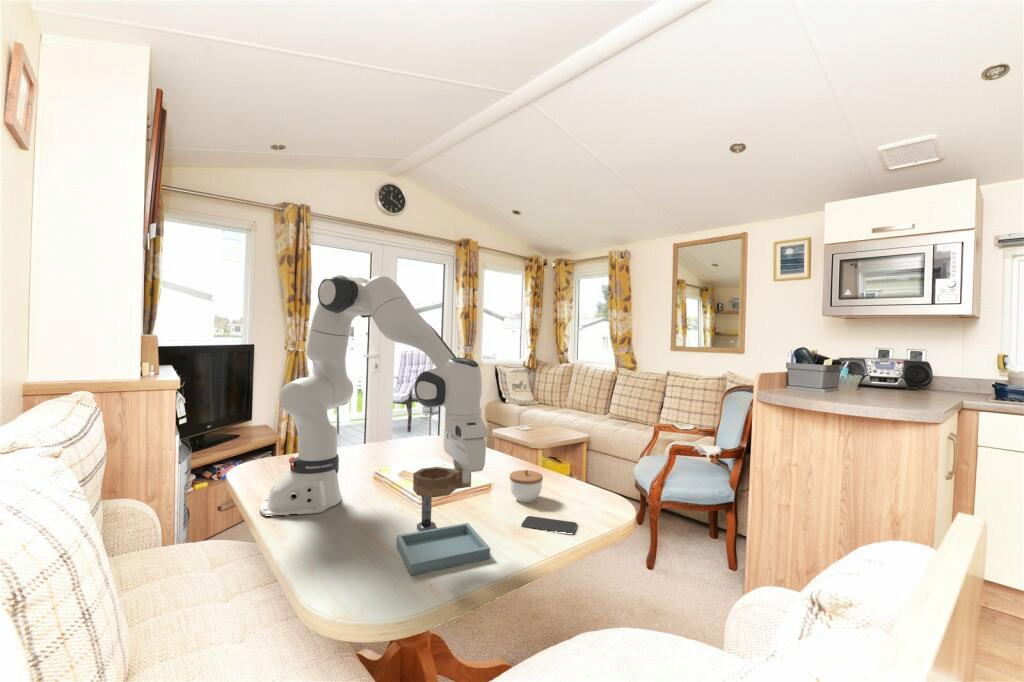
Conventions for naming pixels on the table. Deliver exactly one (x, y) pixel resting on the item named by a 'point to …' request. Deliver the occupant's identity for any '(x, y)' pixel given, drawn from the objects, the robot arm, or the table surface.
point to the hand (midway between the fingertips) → (461, 479)
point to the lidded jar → (525, 485)
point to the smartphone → (549, 524)
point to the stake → (426, 515)
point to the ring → (438, 481)
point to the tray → (441, 548)
